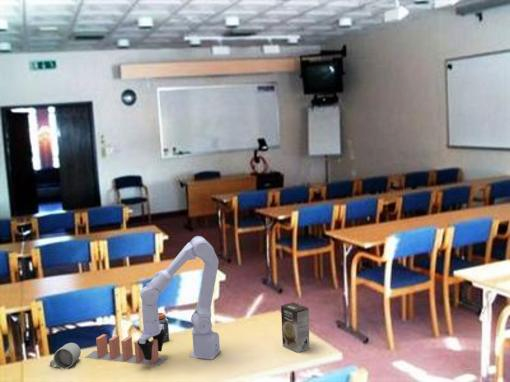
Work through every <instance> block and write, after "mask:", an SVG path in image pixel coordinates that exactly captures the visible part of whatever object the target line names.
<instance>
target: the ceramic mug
mask: <svg viewBox="0 0 510 382" xmlns="http://www.w3.org/2000/svg"><path fill="white" fill-rule="evenodd" d="M81 351H82V350H81V348H80V346H79V345H78V344H77V343H75V342H69V343H65V344H64V345H63V346H62V347H60V348H58V349H57V350H56V351H55V352H54V355H53V359H51V360H50V361H49V364H50V366H52V367H53V366H57V368H59V369H70V368H71V367H73V365H74V364H75V363H76V362H77V361H78V360H79V358H80V357H81V354H82V353H81Z"/></svg>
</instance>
